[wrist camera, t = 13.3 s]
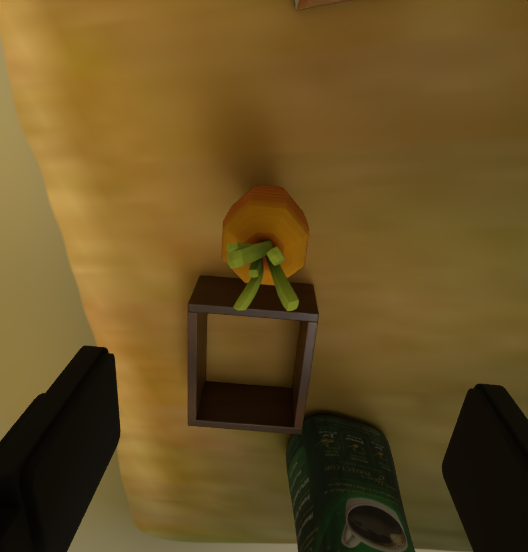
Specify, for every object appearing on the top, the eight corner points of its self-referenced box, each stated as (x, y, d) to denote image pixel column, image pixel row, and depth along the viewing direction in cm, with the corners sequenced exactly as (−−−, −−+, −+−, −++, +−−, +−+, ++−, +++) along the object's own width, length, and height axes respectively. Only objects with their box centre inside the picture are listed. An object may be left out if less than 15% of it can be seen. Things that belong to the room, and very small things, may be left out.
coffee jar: (276, 459, 42) (275, 705, 25) (304, 401, 39) (325, 637, 22) (364, 483, 43) (420, 736, 26) (398, 429, 40) (486, 675, 23)
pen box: (199, 275, 34) (187, 303, 30) (313, 284, 34) (318, 314, 30) (198, 386, 39) (187, 425, 34) (298, 394, 39) (301, 435, 34)
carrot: (309, 219, 32) (331, 315, 19) (248, 237, 33) (226, 342, 19) (290, 156, 30) (301, 210, 17) (226, 177, 31) (185, 245, 17)
